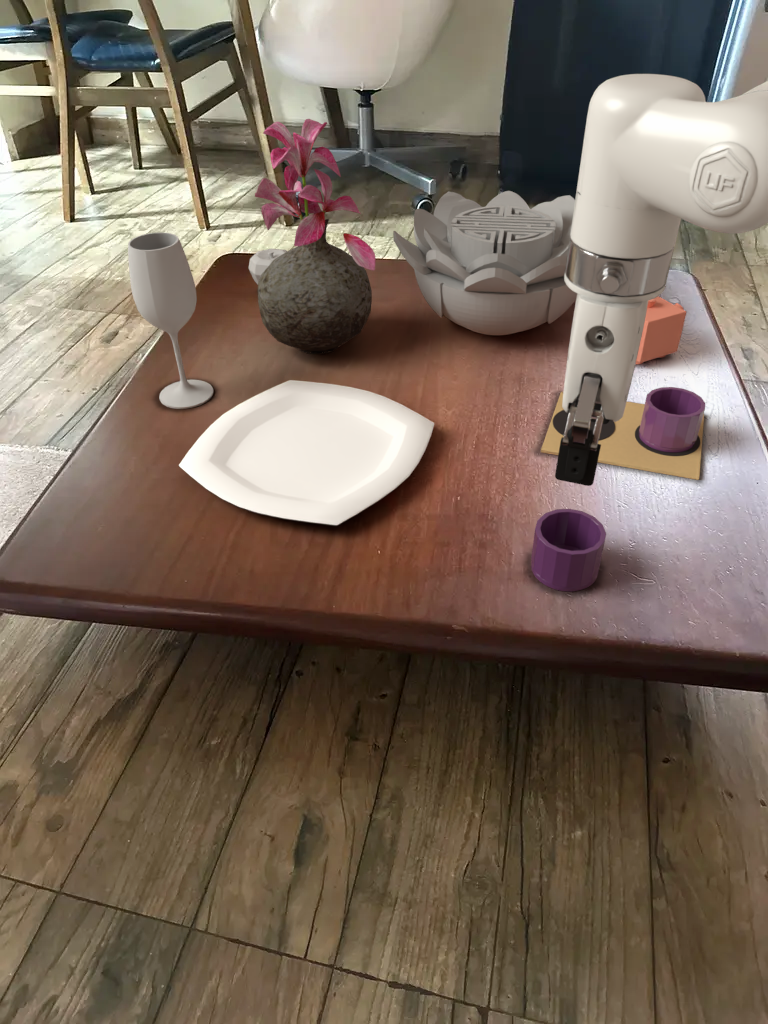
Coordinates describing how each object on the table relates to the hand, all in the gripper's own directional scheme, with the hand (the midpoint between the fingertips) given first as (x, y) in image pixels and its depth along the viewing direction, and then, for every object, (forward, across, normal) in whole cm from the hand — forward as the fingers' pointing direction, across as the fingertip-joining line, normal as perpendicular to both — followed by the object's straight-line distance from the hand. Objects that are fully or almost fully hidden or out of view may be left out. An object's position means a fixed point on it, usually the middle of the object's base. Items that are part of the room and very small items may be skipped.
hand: (583, 449), depth 70 cm
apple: (+15, +51, +57) cm, 78 cm away
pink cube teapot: (+14, +47, -3) cm, 49 cm away
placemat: (+14, +25, -3) cm, 29 cm away
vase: (+15, +36, +42) cm, 57 cm away
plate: (+15, +9, +32) cm, 36 cm away
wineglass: (+15, +17, +54) cm, 58 cm away
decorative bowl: (+15, +50, +19) cm, 56 cm away
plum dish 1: (+14, -1, 0) cm, 14 cm away
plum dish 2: (+14, +25, -8) cm, 30 cm away
